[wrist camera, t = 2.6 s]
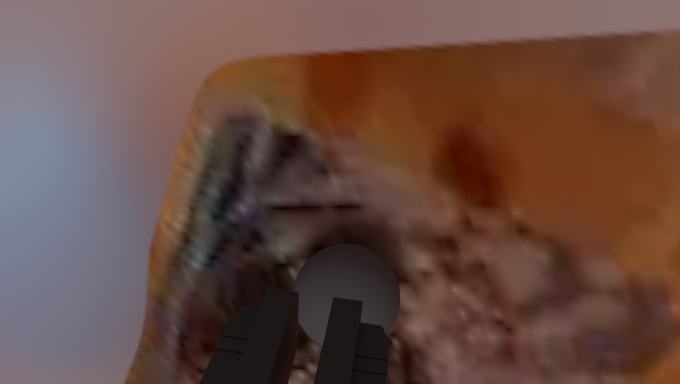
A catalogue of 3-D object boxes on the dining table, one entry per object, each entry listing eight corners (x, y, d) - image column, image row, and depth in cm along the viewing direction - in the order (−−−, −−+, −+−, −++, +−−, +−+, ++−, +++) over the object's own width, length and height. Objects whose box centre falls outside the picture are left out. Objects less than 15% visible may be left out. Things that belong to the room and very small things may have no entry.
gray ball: (408, 230, 29) (404, 295, 25) (395, 310, 32) (390, 383, 27) (306, 217, 30) (283, 278, 25) (302, 297, 33) (281, 366, 28)
